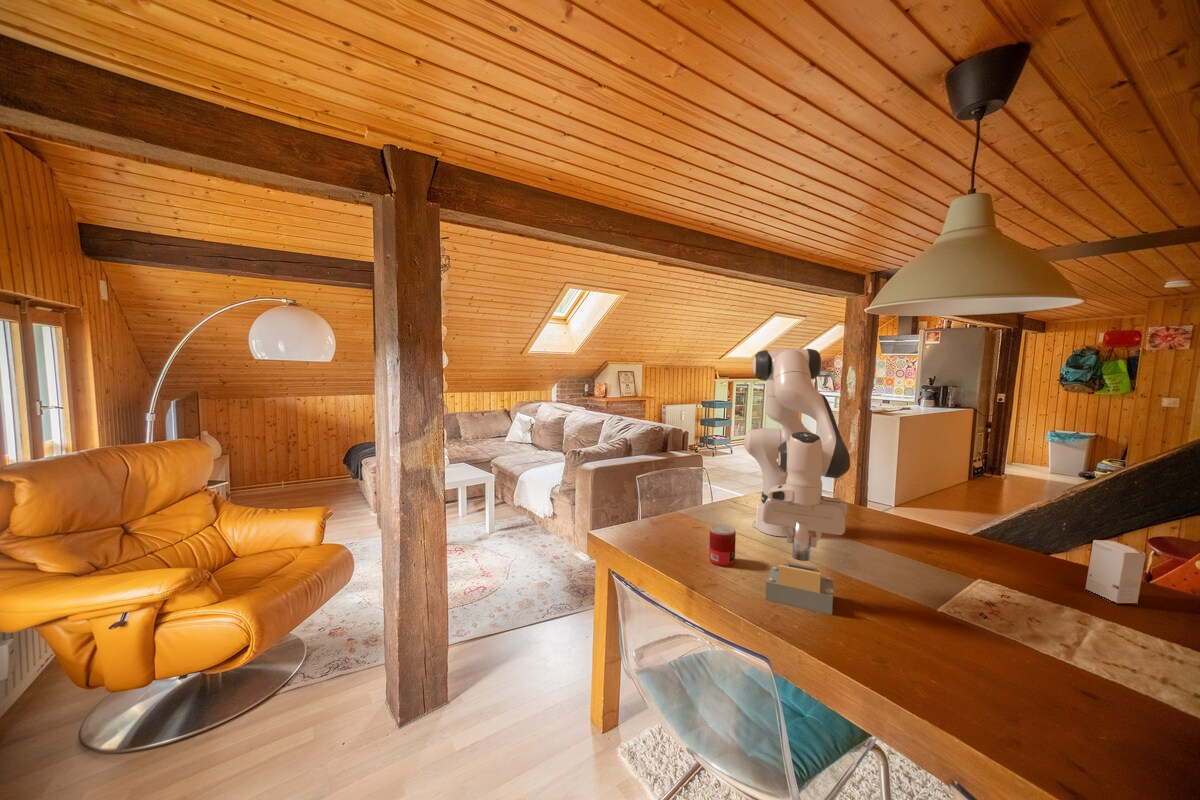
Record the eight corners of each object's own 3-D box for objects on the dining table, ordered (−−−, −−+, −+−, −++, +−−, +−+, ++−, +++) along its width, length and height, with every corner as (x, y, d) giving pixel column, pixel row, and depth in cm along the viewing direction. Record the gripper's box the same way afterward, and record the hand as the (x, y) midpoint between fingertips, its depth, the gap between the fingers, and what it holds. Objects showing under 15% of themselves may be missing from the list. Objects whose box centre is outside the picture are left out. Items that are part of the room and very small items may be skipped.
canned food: (735, 568, 142) (736, 534, 142) (709, 566, 144) (710, 532, 143) (733, 558, 150) (734, 525, 149) (708, 555, 152) (709, 523, 151)
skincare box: (1084, 590, 129) (1089, 539, 128) (1106, 590, 129) (1111, 539, 127) (1118, 606, 120) (1123, 551, 119) (1141, 606, 120) (1146, 551, 119)
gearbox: (771, 583, 132) (772, 550, 132) (832, 597, 125) (834, 561, 124) (765, 599, 124) (766, 563, 123) (832, 614, 116) (833, 576, 115)
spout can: (793, 553, 126) (794, 512, 125) (810, 556, 124) (812, 515, 123) (791, 558, 122) (792, 517, 121) (809, 562, 120) (811, 519, 119)
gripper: (847, 496, 120) (845, 547, 121) (765, 486, 129) (764, 533, 130) (847, 502, 114) (845, 556, 115) (762, 491, 124) (760, 541, 125)
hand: (801, 544), depth 123 cm, fingers closed on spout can, 4 cm apart
